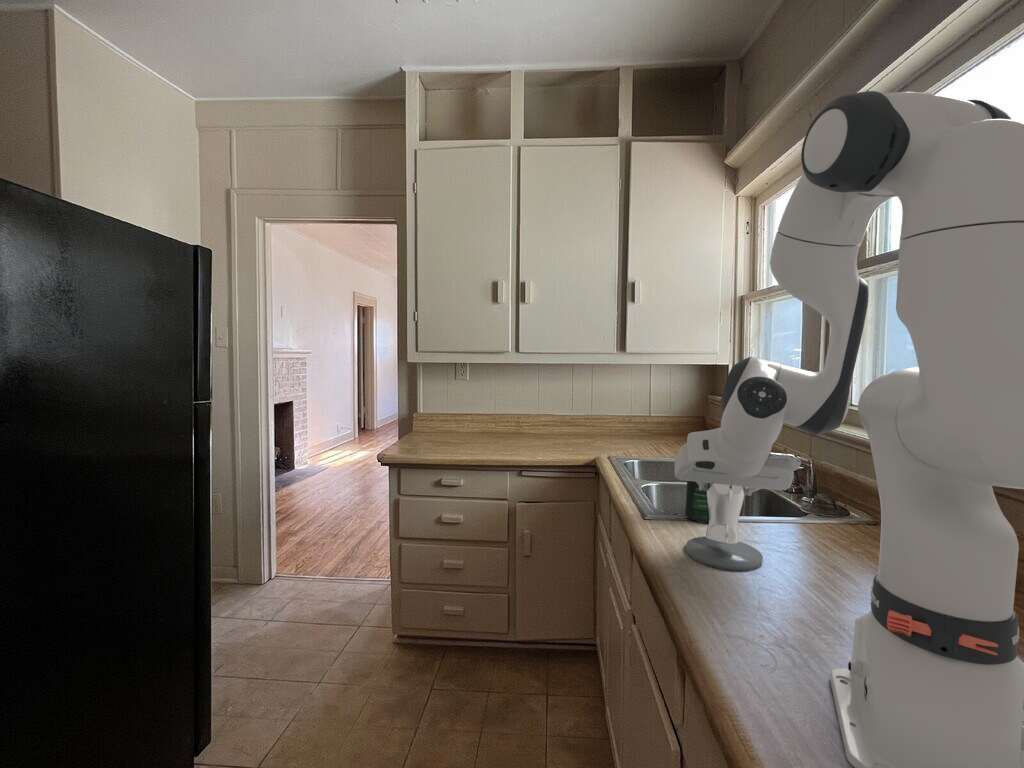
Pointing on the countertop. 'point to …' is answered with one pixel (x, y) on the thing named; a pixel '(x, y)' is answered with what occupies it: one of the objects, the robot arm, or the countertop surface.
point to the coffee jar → (696, 503)
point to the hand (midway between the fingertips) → (724, 489)
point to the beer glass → (724, 512)
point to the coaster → (724, 554)
